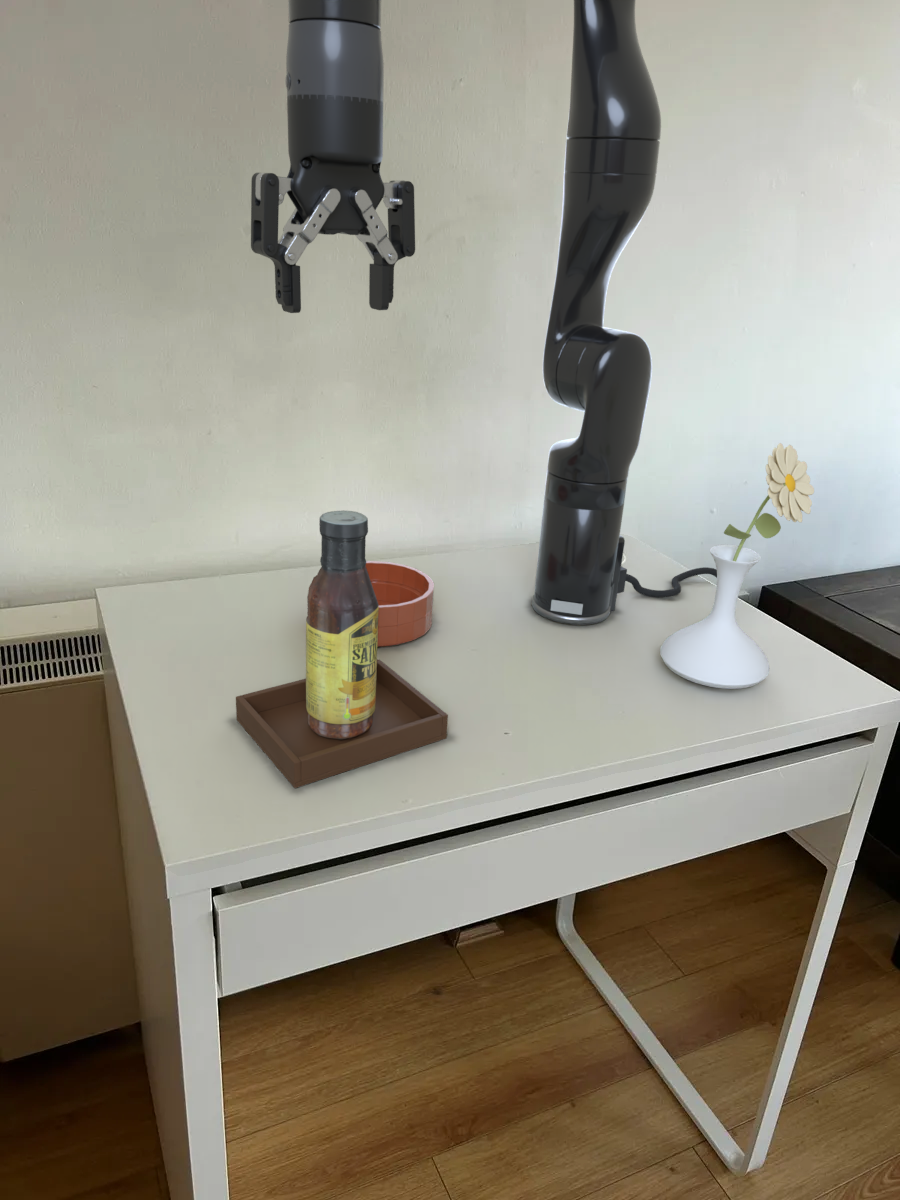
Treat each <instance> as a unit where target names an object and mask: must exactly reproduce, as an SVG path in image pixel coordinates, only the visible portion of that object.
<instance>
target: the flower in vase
mask: <svg viewBox="0 0 900 1200" xmlns="http://www.w3.org/2000/svg"><path fill="white" fill-rule="evenodd" d="M771 452H772V453H771V454H769V455H768V456H767V463H766V465H765V472H766V476H765V481H766V484H767V485H768V488H767V496H765V499H764V500H763V501H762V503H761V504H760V506H759V507H758V509H757V511H756V513H755V515H754V517H753V518H752V521H751V523H750V524H749V526H748V528H747V529H746V531H742V530H739V529H738V528H736V527H735V526H733V524H731V523H729V524H728V525H727V527H726V528H725V529H724V531H723V534H724V535H726V536H729V537H732V538H735V539H738V540H741V541H740V543H739V545H735V544H717V545H714V546H711V547H710V548H709V553H710V555H711V557H712V558H713V561H714V563H715V569H716V570H717V578H716V588H715V589H716V590H715V596H714V601H713V605H712V608H711V611H710V612H709V613H708V615H707V616H706V617H705V618H702V619H701V620H699V621H697V622H695V623H692V624H690V625H688V626H685V627H682V628H680V629H678V630H676V631H675V632H673V633H672V634H670V635H669V636H668V637H666V638H665V640H664V641H663V642H662V644H661V646H660V649H659V654H660V656H661V659H662V661H663V662H664V665H666V667H667V668H668V669H669V670H670V671H672V672H673V673H674V674H675V675H677V676H679V677H681V678H683V679H684V680H688V681H689V682H693V683H696V684H698V685H701V686H702V685H703V686H706V687H711V688H717V689H731V690H735V689H736V690H737V689H746V688H751V687H753V686H756V685H757V684H760V683H761V682H762V681H764V680H765V679H766V678H767V677H768V676H769V674H770V663H769V658H768V656H767V654H765V652H764V651H763V650H762V648H761V646H760V645H759V644H758V643H757V642H756V641H755V640H754V639H753V638H752V637H751V636H750V635H749V634H748V633H746V631H744V629H743V628H742V627H741V626H740V625H739V623H738V621H737V617H736V611H737V610H736V609H737V604H738V599H739V596H740V593H741V588H742V585H743V583H744V581H745V579H746V577H747V575H748V573H749V572H750V570H751V569H752V568H753V567H754V566H755V565H756V564H757V563H759V562H760V561H761V558H762V557H761V555H760V553H758V552H757V551H755V550H754V549H751V548H748V547H746V546H745V547H744V544H745V543H746V540H747V539H749V538H750V537H751V536H752V534H750V533H751V531H752V530H753V528H754V526H755V529H756V531H757V532H758V533H759V534H760V535H761V536H762V537H763V538H764V539H771V538H773V537H775V536H776V535H778V534H779V532H781V529H782V526H781V523H780V521H779V520H778V519H777V518H776V517H775V516H774V515H772V514H771V513H768V512H763V513H761V512H762V511H763V509H764V508H765V506H766V505H767V503H768V502H769V500H771V504H772V505H773V507H774V508H776V513H777V515H778V516H779V517H783V516H784V518H785V519H786V520H787V521H788V522H790V521H792V522H793V523H797V522H798V523H803V512H804V513H805V514H807V515H810V514H811V512H812V509H811V507H812V505H813V501H812V499H811V498H810V496H812V495H814V493H815V487H814V486H813V485H812V484H811V477H810V475H809V474H808V473H807V471H808V464H807V462H806V461H804V460H803V461H801V460H799V459H798V458H799V456H798V450H797V449H795V448H794V447H793V445H792V444H788V445H787V446H786V447H784V445H783V443H781V442H778V444H777V446H776V447H773V449H772V451H771ZM760 514H761V515H760Z"/></svg>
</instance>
